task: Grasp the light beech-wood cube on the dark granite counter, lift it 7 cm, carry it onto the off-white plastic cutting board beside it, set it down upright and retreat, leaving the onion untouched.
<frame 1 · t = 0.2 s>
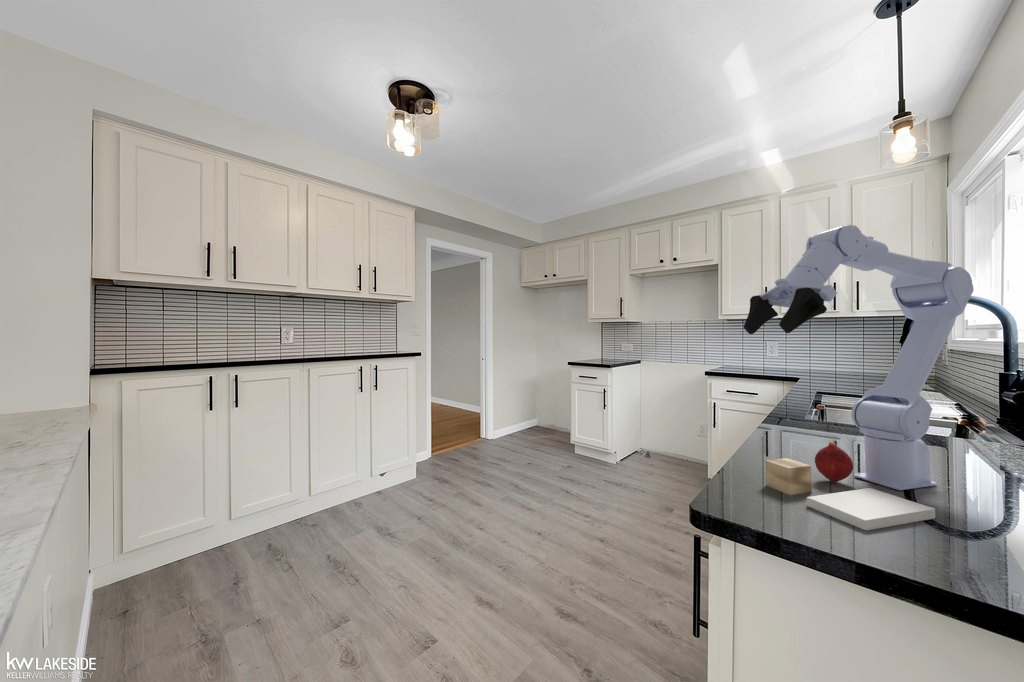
hand: (764, 329, 69), 30 cm above the table, tool tilted 45°, fingers open, 7 cm apart
onion: (834, 483, 76), on the table
cutting board: (868, 511, 63), on the table
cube: (788, 489, 73), on the table
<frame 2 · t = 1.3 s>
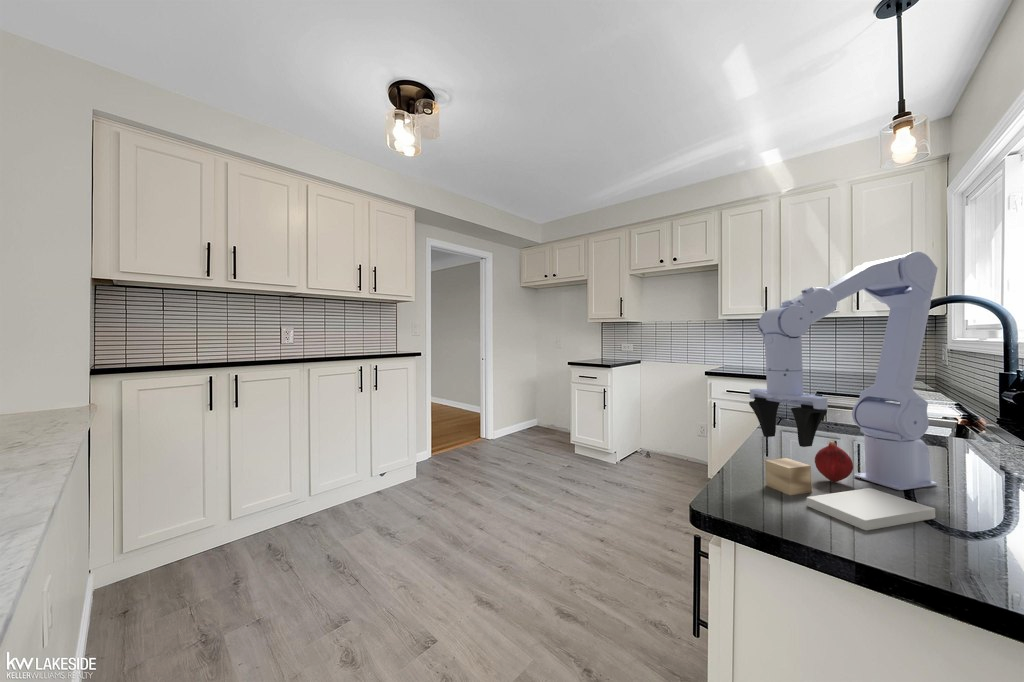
hand: (786, 441, 73), 9 cm above the table, tool pointing down, fingers open, 7 cm apart
nothing on the table moved.
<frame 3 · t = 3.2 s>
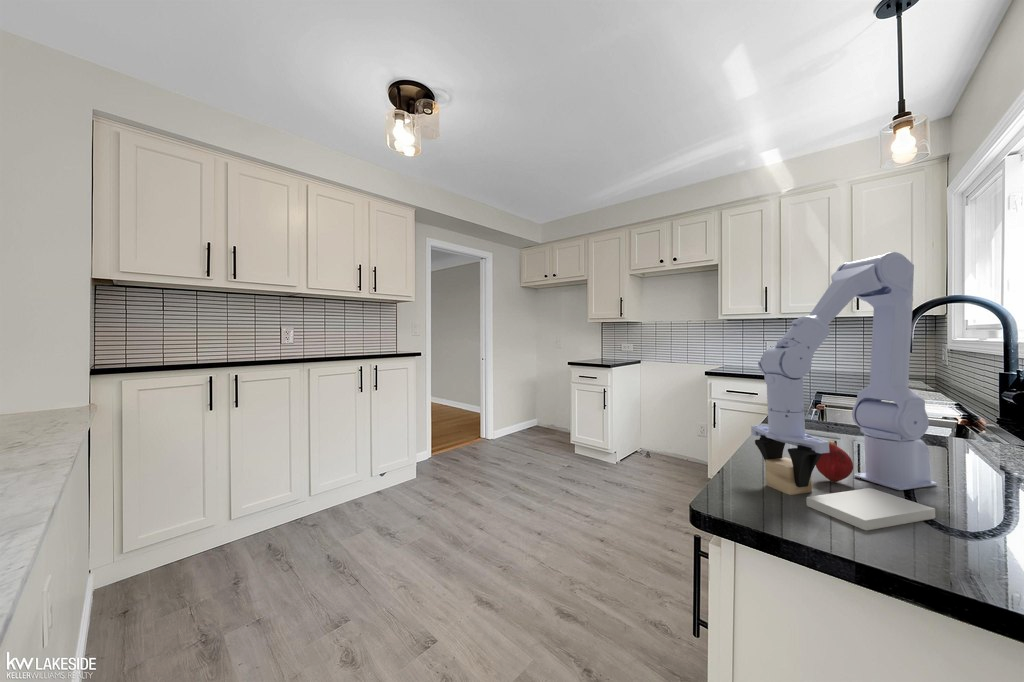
hand: (788, 481, 73), 1 cm above the table, tool pointing down, fingers closed on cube, 5 cm apart
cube: (788, 488, 73), on the table, touching gripper
everything else where it was.
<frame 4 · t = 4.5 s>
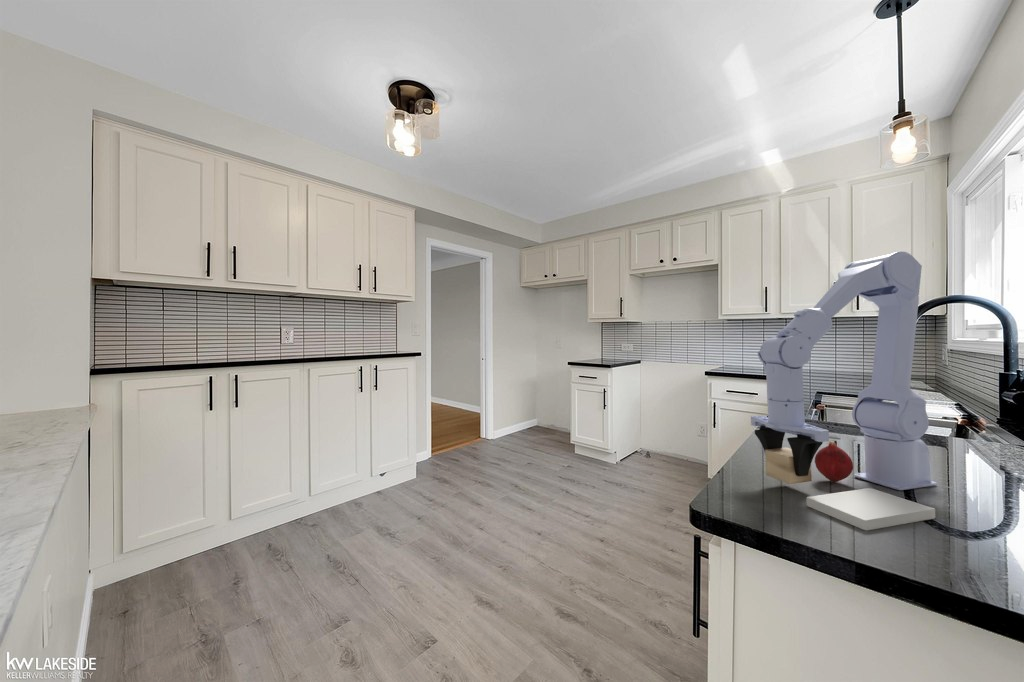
hand: (788, 470, 73), 3 cm above the table, tool pointing down, fingers closed on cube, 5 cm apart
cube: (788, 478, 73), point 2 cm above the table, touching gripper
everything else where it was.
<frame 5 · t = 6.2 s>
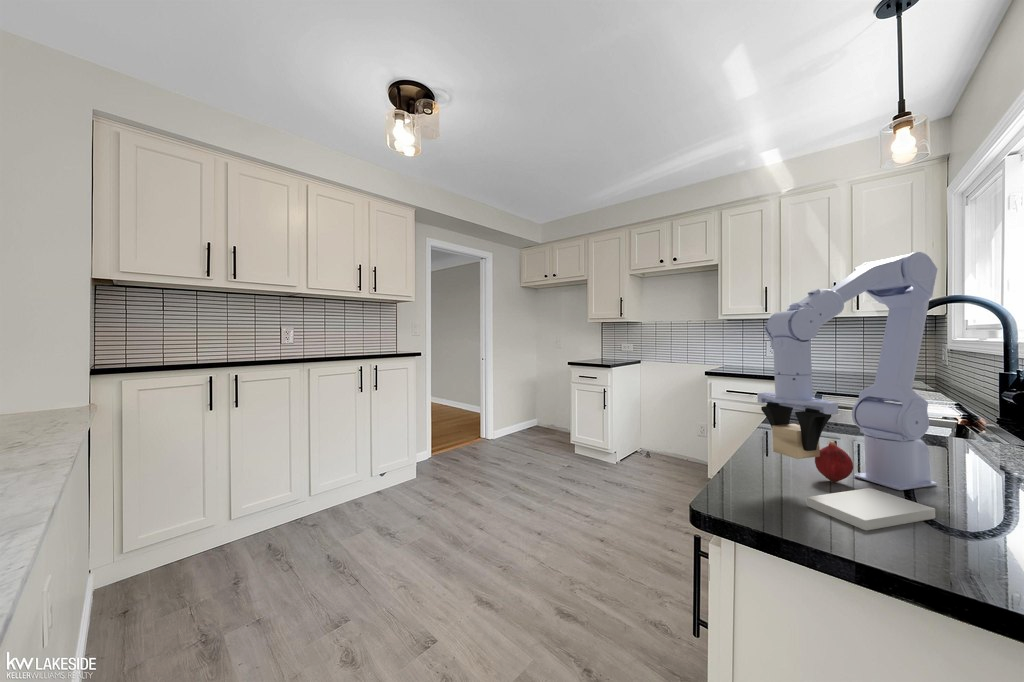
hand: (795, 446, 72), 8 cm above the table, tool pointing down, fingers closed on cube, 5 cm apart
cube: (795, 453, 72), point 7 cm above the table, touching gripper
everything else where it was.
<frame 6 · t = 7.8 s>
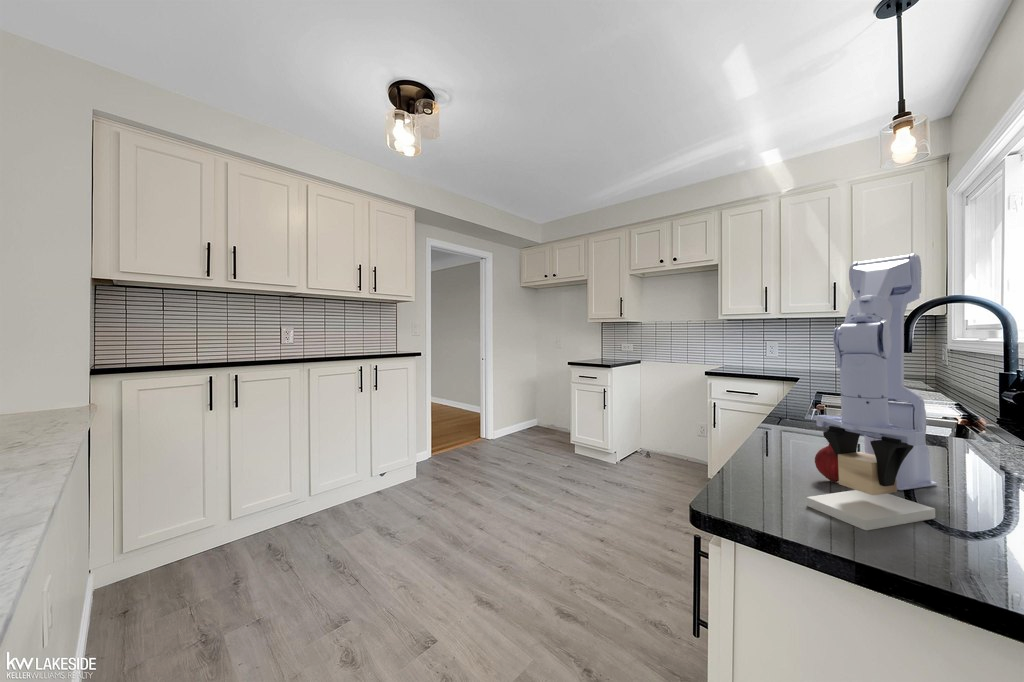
hand: (866, 479, 63), 5 cm above the table, tool pointing down, fingers closed on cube, 5 cm apart
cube: (867, 487, 63), point 4 cm above the table, touching gripper
everything else where it was.
when the fingers open (4 cm above the table, at t = 9.2 s): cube drops 1 cm, resting on cutting board.
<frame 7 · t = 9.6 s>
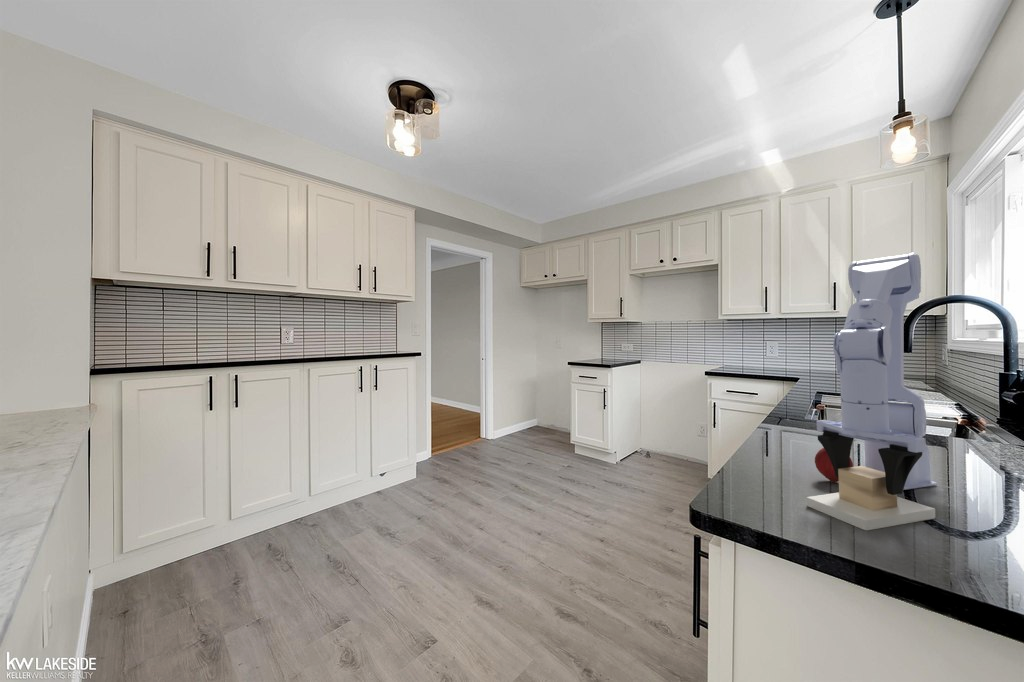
hand: (867, 484, 63), 4 cm above the table, tool pointing down, fingers open, 7 cm apart
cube: (867, 502, 63), point 1 cm above the table, touching cutting board
everything else where it was.
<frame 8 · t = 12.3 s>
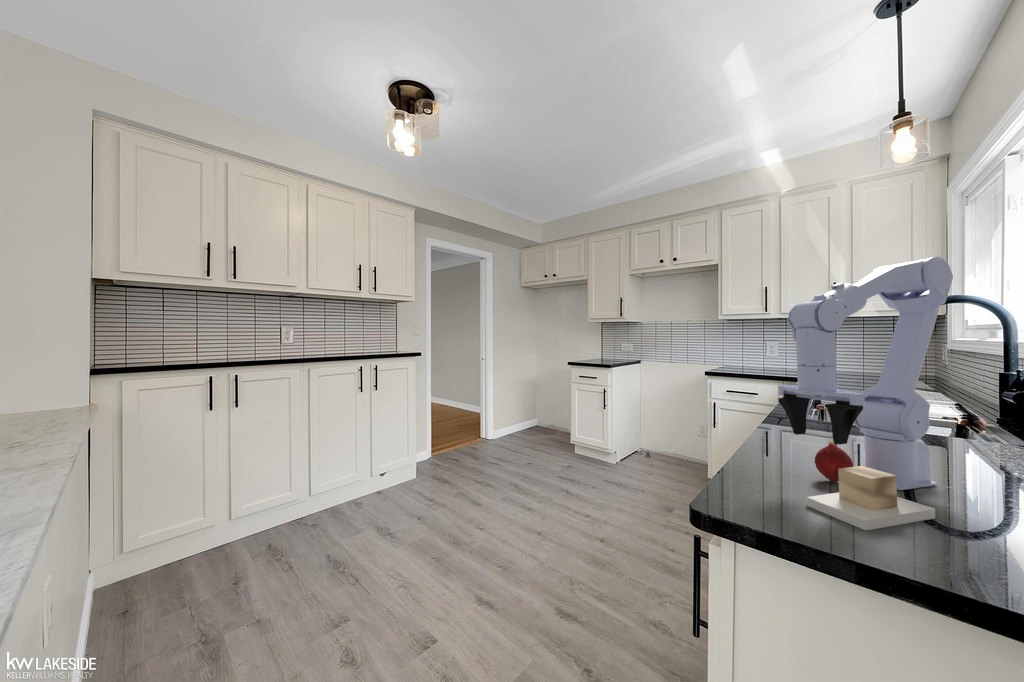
hand: (819, 438, 71), 10 cm above the table, tool pointing down, fingers open, 7 cm apart
nothing on the table moved.
at the end: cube inside the target area on the cutting board (0.0 cm from its centre), point 1.5 cm above the cutting board's base; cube tilted 0°; the gripper is holding nothing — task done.
